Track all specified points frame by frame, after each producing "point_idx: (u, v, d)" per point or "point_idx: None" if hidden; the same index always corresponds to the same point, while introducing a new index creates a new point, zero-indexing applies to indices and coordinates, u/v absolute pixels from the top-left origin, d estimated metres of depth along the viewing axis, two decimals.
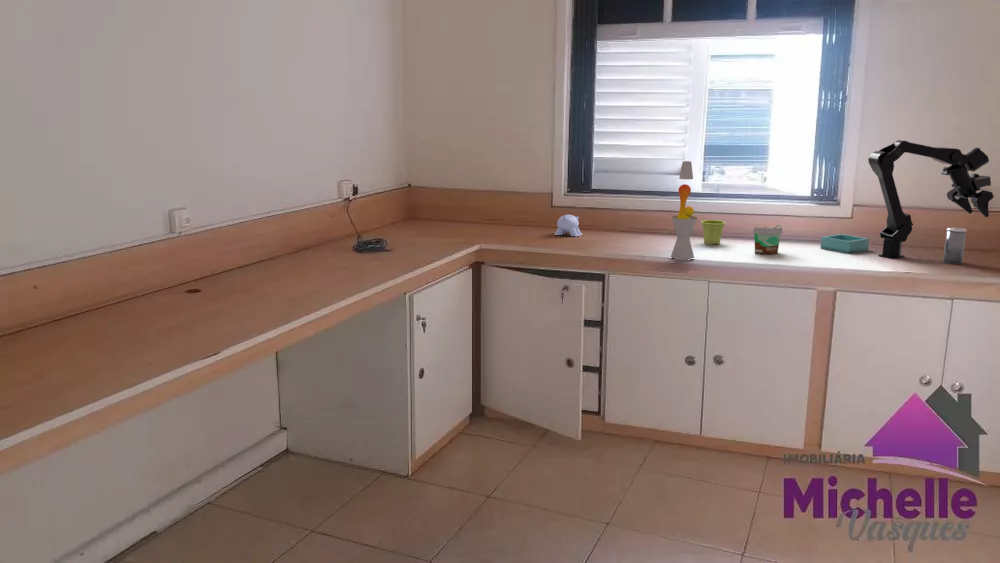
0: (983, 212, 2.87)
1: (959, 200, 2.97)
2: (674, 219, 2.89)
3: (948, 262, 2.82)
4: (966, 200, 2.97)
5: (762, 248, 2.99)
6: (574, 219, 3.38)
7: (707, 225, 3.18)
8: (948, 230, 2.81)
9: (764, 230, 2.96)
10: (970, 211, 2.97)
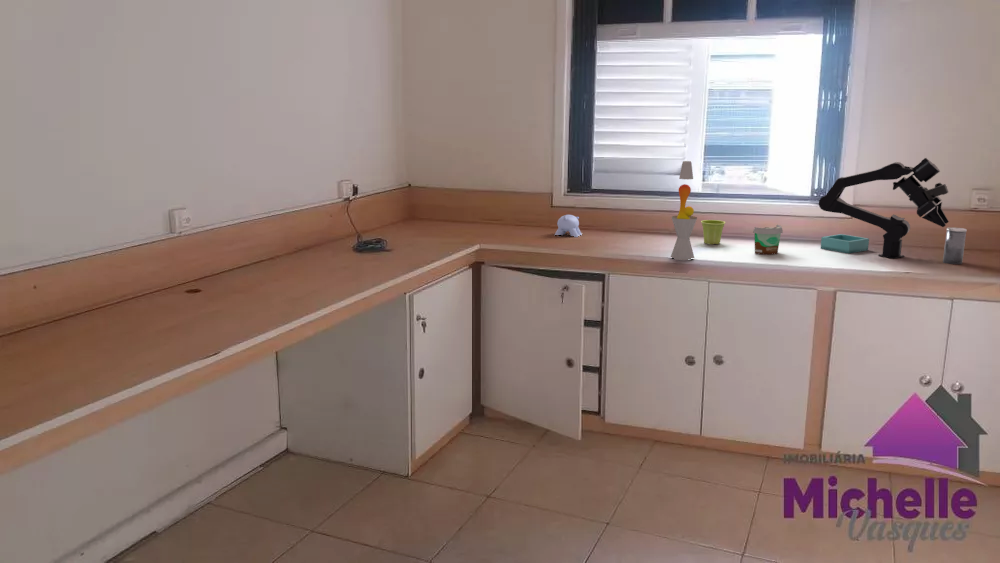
0: (936, 222, 2.79)
1: None
2: (674, 219, 2.89)
3: (948, 262, 2.82)
4: (939, 210, 2.87)
5: (762, 248, 2.99)
6: (574, 219, 3.38)
7: (707, 225, 3.18)
8: (948, 230, 2.81)
9: (764, 230, 2.96)
10: (945, 221, 2.86)
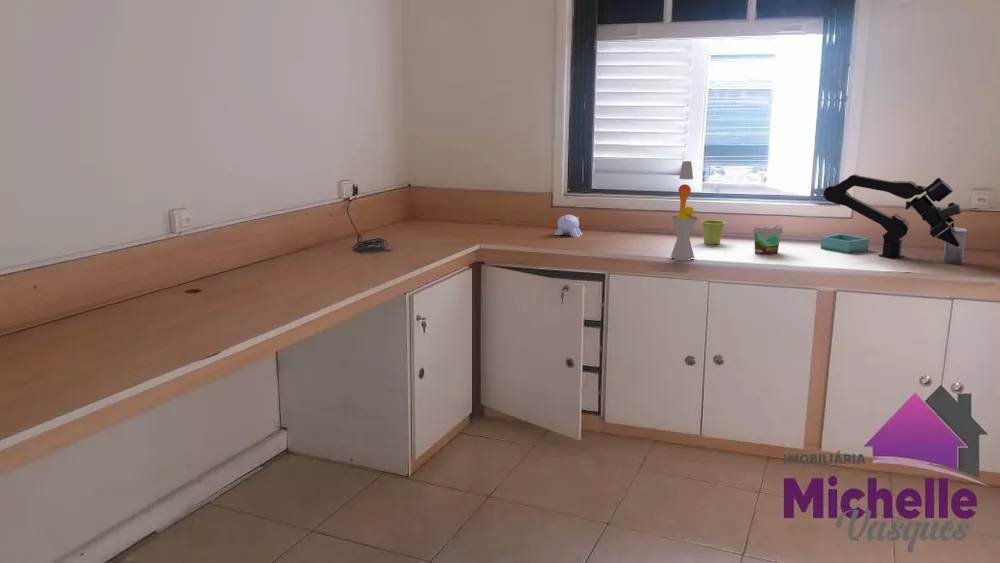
0: (950, 242, 2.79)
1: None
2: (674, 219, 2.89)
3: (948, 262, 2.82)
4: None
5: (762, 248, 2.99)
6: (574, 219, 3.38)
7: (707, 225, 3.18)
8: None
9: (764, 230, 2.96)
10: None
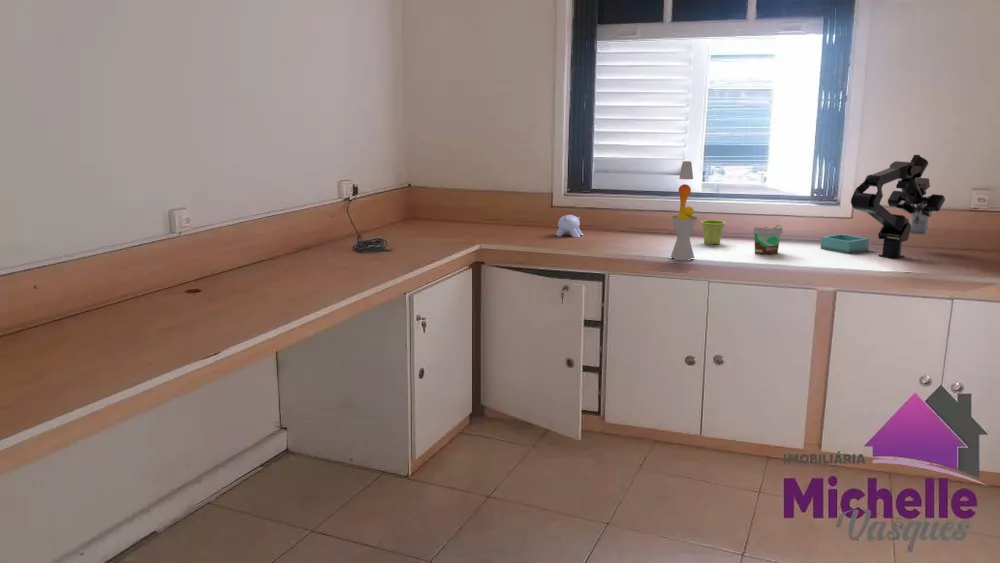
0: (929, 213, 2.98)
1: (905, 205, 3.02)
2: (674, 219, 2.89)
3: (924, 232, 3.01)
4: (909, 203, 3.03)
5: (762, 248, 2.99)
6: (575, 219, 3.37)
7: (707, 225, 3.18)
8: (923, 203, 2.98)
9: (764, 230, 2.96)
10: None
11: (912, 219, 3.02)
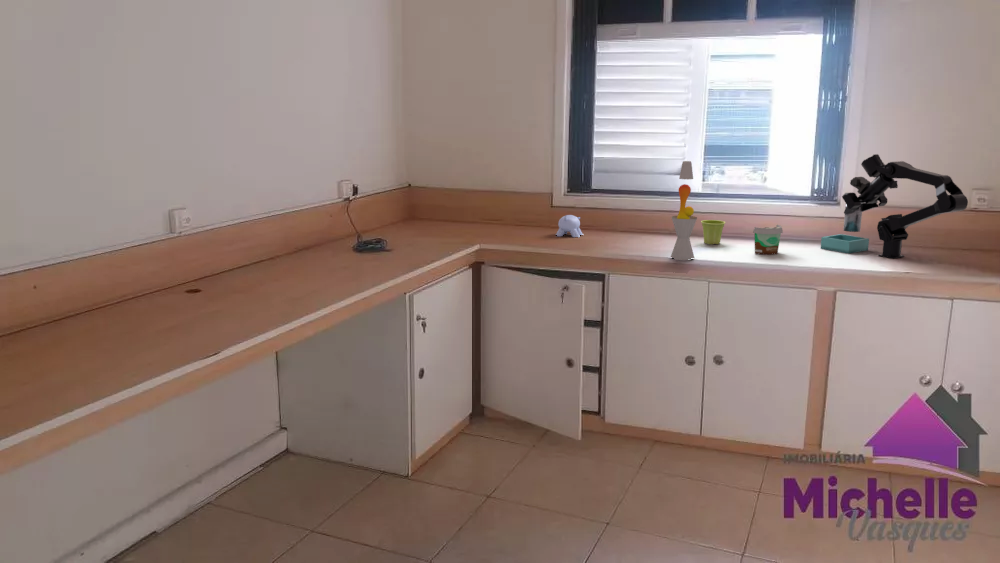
0: None
1: None
2: (674, 219, 2.89)
3: None
4: None
5: (762, 248, 2.99)
6: (575, 219, 3.37)
7: (707, 225, 3.18)
8: None
9: (764, 230, 2.96)
10: None
11: (856, 218, 3.05)
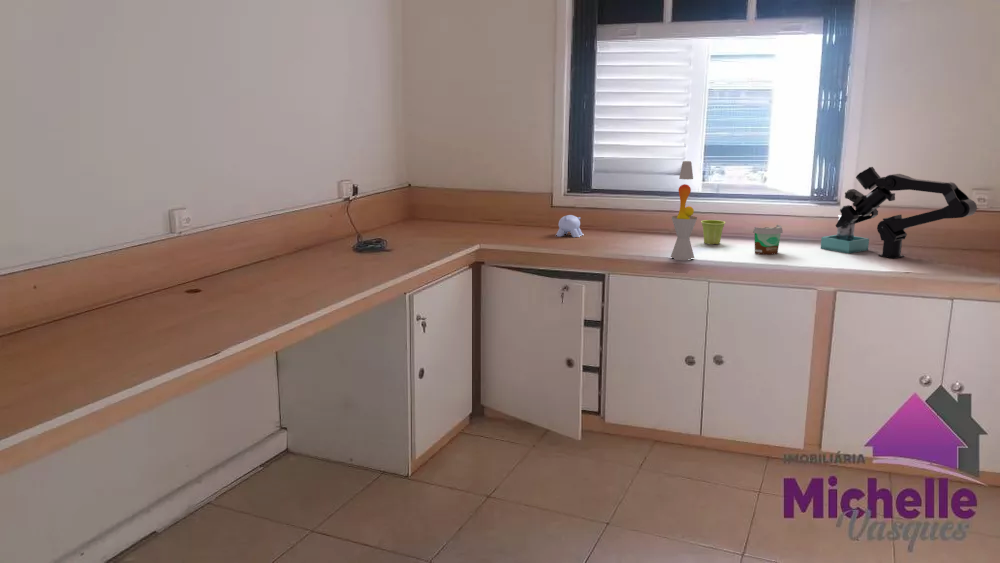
0: None
1: None
2: (674, 219, 2.89)
3: None
4: None
5: (762, 248, 2.99)
6: (575, 219, 3.37)
7: (707, 225, 3.18)
8: None
9: (764, 230, 2.96)
10: None
11: (850, 234, 3.04)
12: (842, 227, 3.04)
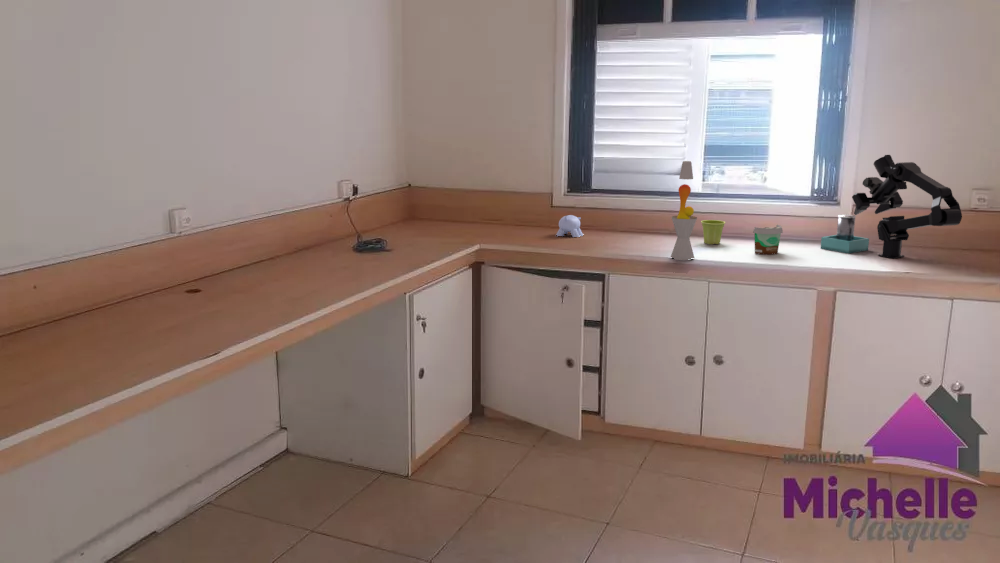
0: None
1: None
2: (674, 219, 2.89)
3: None
4: None
5: (762, 248, 2.99)
6: (576, 220, 3.37)
7: (707, 225, 3.18)
8: None
9: (764, 230, 2.96)
10: None
11: (850, 234, 3.04)
12: (842, 227, 3.04)
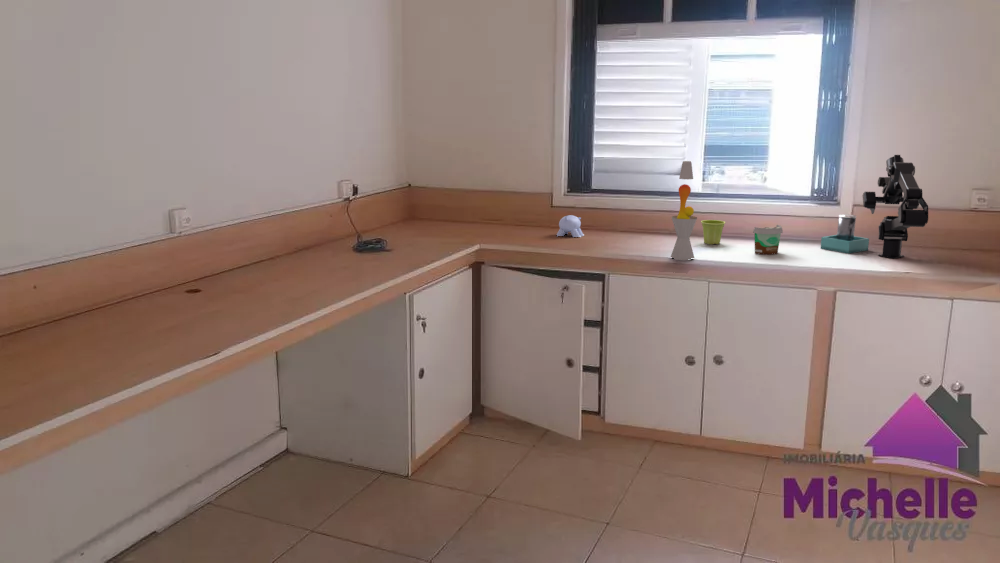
0: None
1: None
2: (674, 219, 2.89)
3: None
4: None
5: (762, 248, 2.99)
6: (576, 220, 3.37)
7: (707, 225, 3.18)
8: None
9: (764, 230, 2.96)
10: None
11: (850, 234, 3.04)
12: (842, 227, 3.04)
